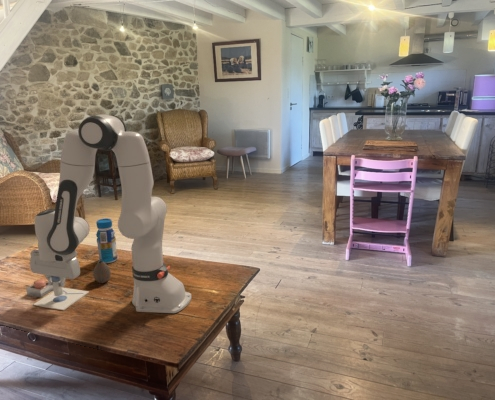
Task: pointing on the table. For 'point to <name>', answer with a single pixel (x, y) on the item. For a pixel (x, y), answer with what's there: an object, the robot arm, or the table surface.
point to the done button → (39, 283)
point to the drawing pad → (61, 299)
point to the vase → (101, 272)
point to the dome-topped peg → (56, 286)
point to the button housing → (39, 290)
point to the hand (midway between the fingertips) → (57, 285)
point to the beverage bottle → (106, 241)
